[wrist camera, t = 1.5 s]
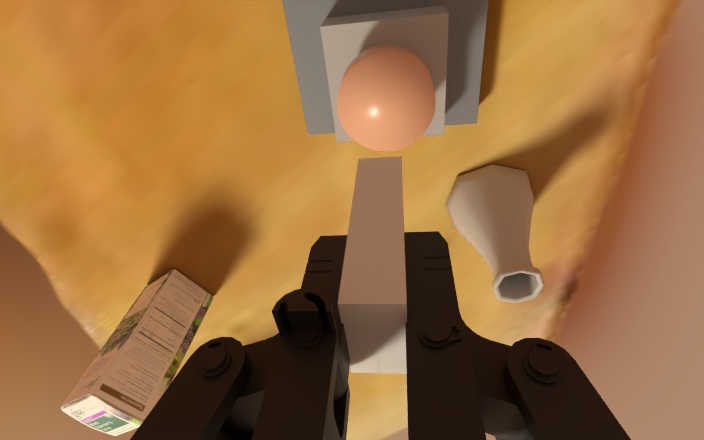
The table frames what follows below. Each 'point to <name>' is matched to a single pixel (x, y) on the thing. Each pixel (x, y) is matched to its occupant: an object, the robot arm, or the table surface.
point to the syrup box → (140, 356)
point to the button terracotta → (386, 98)
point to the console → (387, 29)
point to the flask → (499, 226)
